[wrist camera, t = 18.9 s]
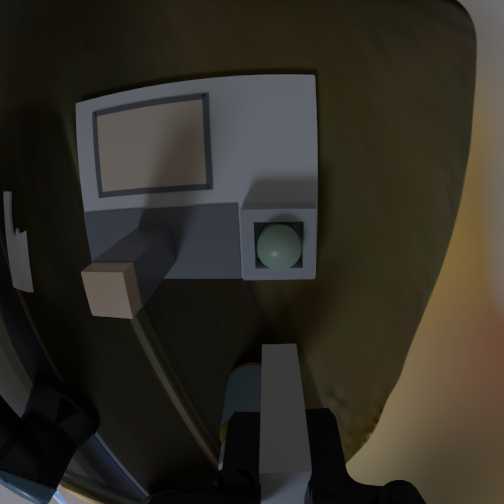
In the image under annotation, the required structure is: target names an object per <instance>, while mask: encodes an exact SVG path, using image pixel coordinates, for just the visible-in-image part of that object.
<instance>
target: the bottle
mask: <svg viewBox="0 0 504 504" xmlns="http://www.w3.org/2000/svg"><path fill="white" fill-rule="evenodd" d="M261 374H262V363H257V362H252V363H246V364H243V365H240V366H238V367H237V368H235V369H234V370H233V371H232V372H231V374H230V377H229V381H228V387H227V393H226V398H225V404H224V410H223V416H222V422H221V428H220V440H221V443H222V447H221V452H220V458H219V465H218V468H219V471H220V470H221V469H222V465H223V457H224V449H225V443H226V434H227V426H228V421H229V419H230V418H231V416H232V415H233V413H234V412H235V411H241V412H261Z"/></svg>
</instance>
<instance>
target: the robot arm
mask: <svg viewBox="0 0 504 504" xmlns="http://www.w3.org/2000/svg"><path fill="white" fill-rule="evenodd" d="M98 427H99V420H98V417H97V415H96V413H95V412H94V410H93V409H92V408H91V406H90V405H89V404H88V403H87V402H86V401H85V400H84V399H83V398H82V397H81V396H80V395H79V394H78V393H76V392H75V391H74V390H72V389H71V388H69V387H68V386H66V385H65V384H63V383H61V382H59V381H57V380H54V379H51V378H40V379H38V380H37V381H36V382H35V384H34V385H33V386H32V388H31V391H30V397H29V399H28V402H27V405H26V409H25V412H24V414H23V415H22V417H21V418H20V417H19V416H18V415H17V414H16V413H15V412H14V410H13V409H12V408H11V407H10V406H9V405H8V403H7V402H6V401H5V400H4V399H3V397H2V396H1V395H0V484H2V485H3V486H5V487H6V488H8V489H9V490H11V491H12V492H14V493H16V494H18V495H19V496H21V497H23V498H25V499H27V500H29V501H31V502H33V503H36V504H48V503H49V501H50V500H51V498H52V496H53V495H54V493H55V492H56V491H57V490H56V489H57V487H58V485H59V483H60V481H61V479H62V477H63V475H64V473H65V471H66V469H67V467H68V465H69V463H70V461H71V458H72V457H73V455H74V453H75V451H76V450H77V449H78V448H80V447H81V446H82V445H83V444H84V443H85V442H86V441H87V440H88V439H90V438H92V437H93V436H94V435H95V433H96V431H97V429H98ZM212 482H213V485H214V486H213V487H212V488H210V489H208V490H205V491H202V492H196V493H190V494H184V493H182V492H180V491H177V490H172V489H169V490H162V491H160V492H158V493H156V494H155V495H154V496H153V497H152V498H151V499H150V501H149V503H148V504H304V503H305V504H426V503H425V501H424V500H423V498H422V497H421V495H420V494H419V492H418V490H417V489H416V487H414V486H413V485H412V484H411V483H410V482H407V481H404V480H395V481H391V482H389V483H387V484H386V485H384V486H374V485H365V484H361V483H358V482H356V481H354V480H353V479H352V478H351V477H350V476H349V474H348V472H347V469H346V465H345V460H344V455H343V450H342V445H341V440H340V435H339V430H338V426H337V421H336V417H335V416H334V414H333V413H332V412H331V411H330V409H329V408H320V409H305V406H304V398H303V390H302V383H301V375H300V368H299V360H298V353H297V346H296V344H262V374H261V412H241V411H235V412H234V413H233V415H232V416H231V418H230V419H229V421H228V426H227V434H226V443H225V449H224V457H223V465H222V469H221V470H220V471H219V472H218V473H217V474H216V475H215V476H214V479H213V481H212Z"/></svg>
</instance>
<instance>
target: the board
mask: <svg viewBox="0 0 504 504" xmlns="http://www.w3.org/2000/svg"><path fill="white" fill-rule="evenodd" d="M76 129H77V147H78V160H79V171H80V181H81V190H82V198H83V205H84V212H85V213H84V218H85V224H86V230H87V236H88V242H89V247H90V252H91V257H92V261H93V260H94V259H95V258H97V257H98V256H99V255H101V254H102V253H103V252H105V251H106V250H107V249H109V248H110V247H112V246H113V245H114V244H116V243H117V242H118V241H120V240H121V239H122V238H124V237H125V236H127V235H128V234H129V233H131V232H132V231H134V230H135V229H136V228H140V227H163V226H172V231H173V240H174V249H175V257H176V263H175V264H174V265H173V267H172V268H171V269H170V271H169V272H168V273H167V275H166V276H165V277H164V278H190V279H215V278H243V280H288V279H315V276H316V252H317V214H318V146H317V110H316V87H315V75H292V74H280V75H246V76H230V77H217V78H207V79H197V80H189V81H181V82H174V83H168V84H161V85H155V86H149V87H144V88H139V89H134V90H129V91H124V92H119V93H115V94H111V95H106V96H102V97H98V98H94V99H91V100H87V101H83V102H80V103H76ZM268 222H289V223H291V224H292V225H293V226H294V227H295V229H296V231H297V233H298V236H299V240H300V243H301V255H300V257H299V259H298V261H297V262H296V263H295V264H294V265H293V266H291V267H290V268H287V269H284V270H274V269H271V268H269V267H267V266H266V265H264V264H263V263H262V262H261V260H260V258H259V256H258V252H257V246H258V238H259V233H260V230H261V229H262V227H263V226H264V225H265V224H266V223H268Z"/></svg>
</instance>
